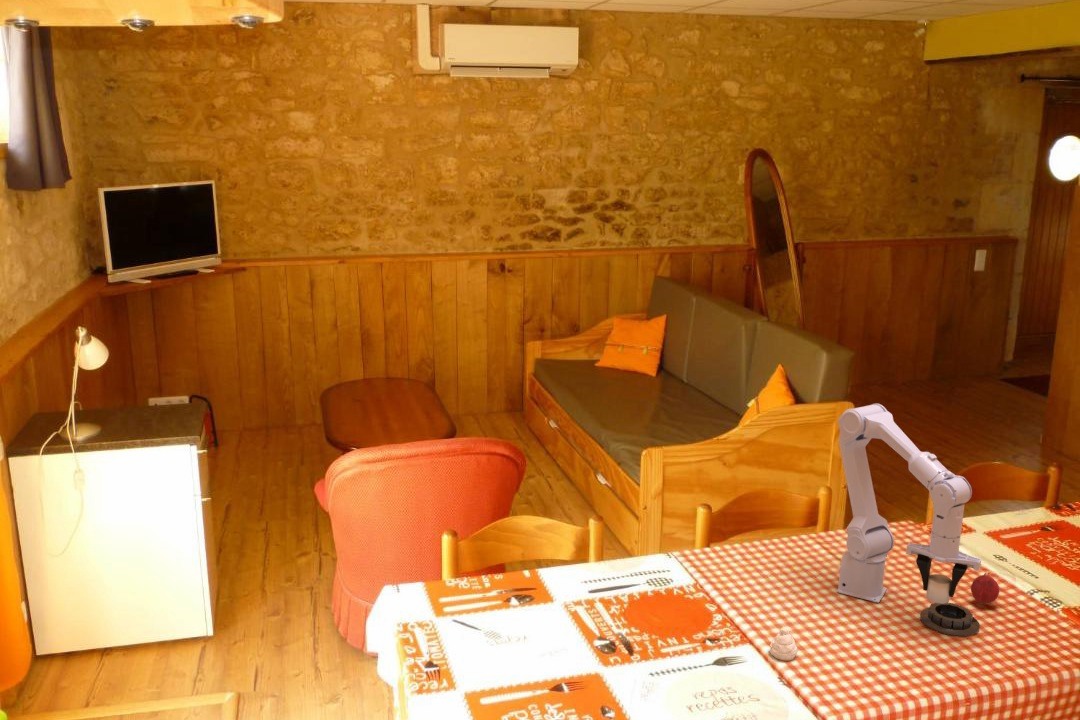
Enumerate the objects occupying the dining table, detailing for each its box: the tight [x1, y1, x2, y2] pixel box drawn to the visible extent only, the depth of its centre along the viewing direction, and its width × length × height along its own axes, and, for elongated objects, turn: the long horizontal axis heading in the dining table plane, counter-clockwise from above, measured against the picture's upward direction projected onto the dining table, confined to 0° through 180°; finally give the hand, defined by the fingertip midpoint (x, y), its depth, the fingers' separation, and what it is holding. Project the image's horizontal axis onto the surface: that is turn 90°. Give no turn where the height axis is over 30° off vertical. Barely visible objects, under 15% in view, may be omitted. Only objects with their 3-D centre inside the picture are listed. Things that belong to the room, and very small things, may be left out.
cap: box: [925, 573, 952, 604], centre depth 204 cm, size 5×5×5 cm
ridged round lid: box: [919, 602, 981, 638], centre depth 209 cm, size 12×12×3 cm
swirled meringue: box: [769, 626, 799, 662], centre depth 195 cm, size 6×6×5 cm
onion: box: [970, 570, 1000, 606], centre depth 216 cm, size 6×6×8 cm
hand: (938, 591), depth 205 cm, fingers closed on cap, 5 cm apart
